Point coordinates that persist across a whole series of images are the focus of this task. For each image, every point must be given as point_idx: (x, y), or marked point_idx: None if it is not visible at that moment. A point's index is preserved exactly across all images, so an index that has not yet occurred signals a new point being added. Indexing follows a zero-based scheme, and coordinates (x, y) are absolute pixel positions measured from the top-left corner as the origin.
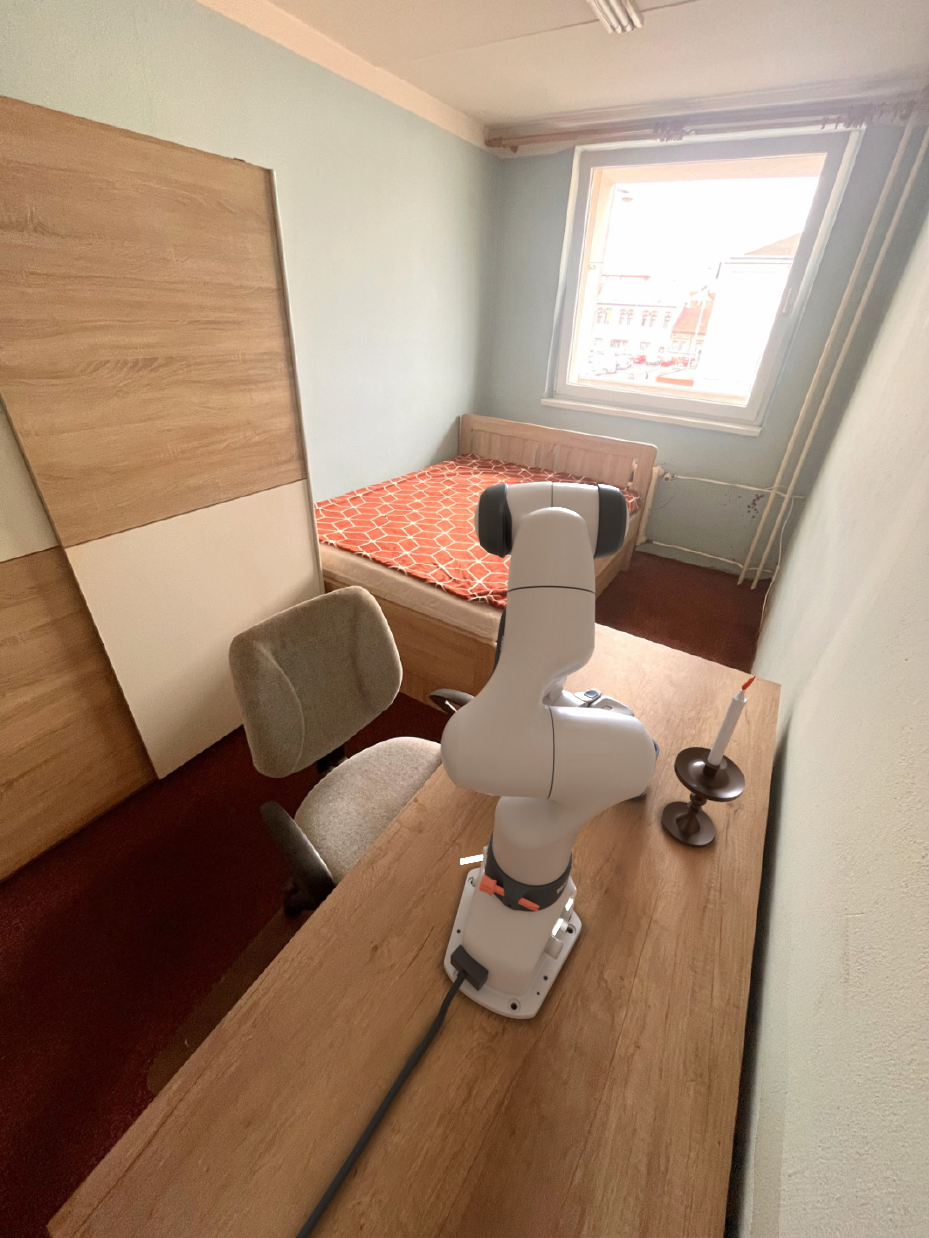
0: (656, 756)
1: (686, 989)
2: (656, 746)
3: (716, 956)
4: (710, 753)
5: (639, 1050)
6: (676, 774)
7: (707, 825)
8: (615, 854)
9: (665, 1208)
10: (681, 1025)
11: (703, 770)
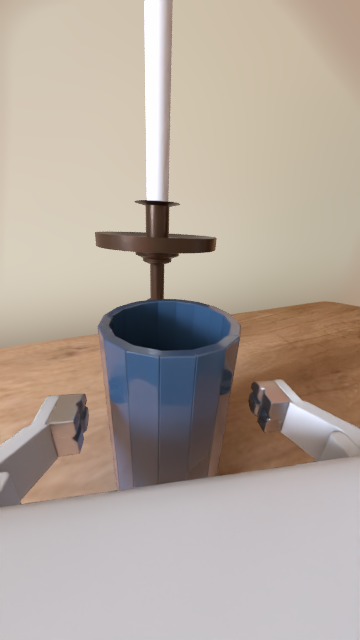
0: (167, 299)
1: (287, 320)
2: (129, 306)
3: (249, 319)
4: (165, 184)
5: (342, 321)
6: (209, 249)
7: None
8: (300, 389)
9: (348, 305)
10: (303, 317)
11: (165, 235)
